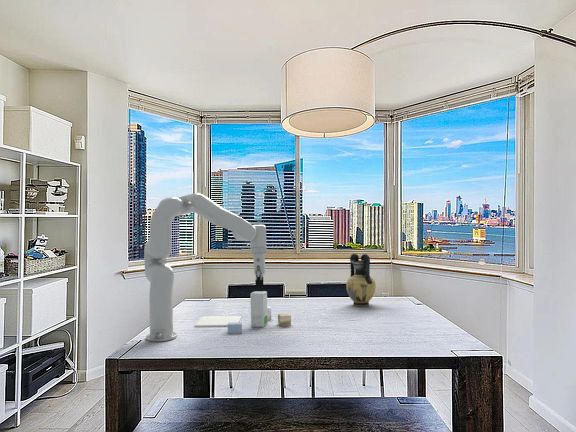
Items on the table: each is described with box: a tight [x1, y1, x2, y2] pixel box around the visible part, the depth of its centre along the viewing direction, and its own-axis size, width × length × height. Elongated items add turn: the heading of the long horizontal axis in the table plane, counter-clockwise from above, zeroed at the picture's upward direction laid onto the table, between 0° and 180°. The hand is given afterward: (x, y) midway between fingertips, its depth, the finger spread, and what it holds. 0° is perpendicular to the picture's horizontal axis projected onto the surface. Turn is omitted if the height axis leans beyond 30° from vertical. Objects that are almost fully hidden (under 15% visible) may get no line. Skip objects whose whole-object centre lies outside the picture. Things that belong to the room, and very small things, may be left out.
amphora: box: [345, 253, 376, 307], centre depth 259 cm, size 18×17×30 cm
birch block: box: [277, 312, 292, 327], centre depth 210 cm, size 5×5×5 cm
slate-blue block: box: [227, 321, 243, 334], centre depth 196 cm, size 4×6×4 cm, turn 93°
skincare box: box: [249, 290, 269, 328], centre depth 210 cm, size 8×7×16 cm
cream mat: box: [194, 315, 242, 328], centre depth 217 cm, size 20×20×1 cm
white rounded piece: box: [267, 305, 272, 321], centre depth 223 cm, size 5×5×6 cm
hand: (259, 286), depth 210 cm, fingers open, 9 cm apart
